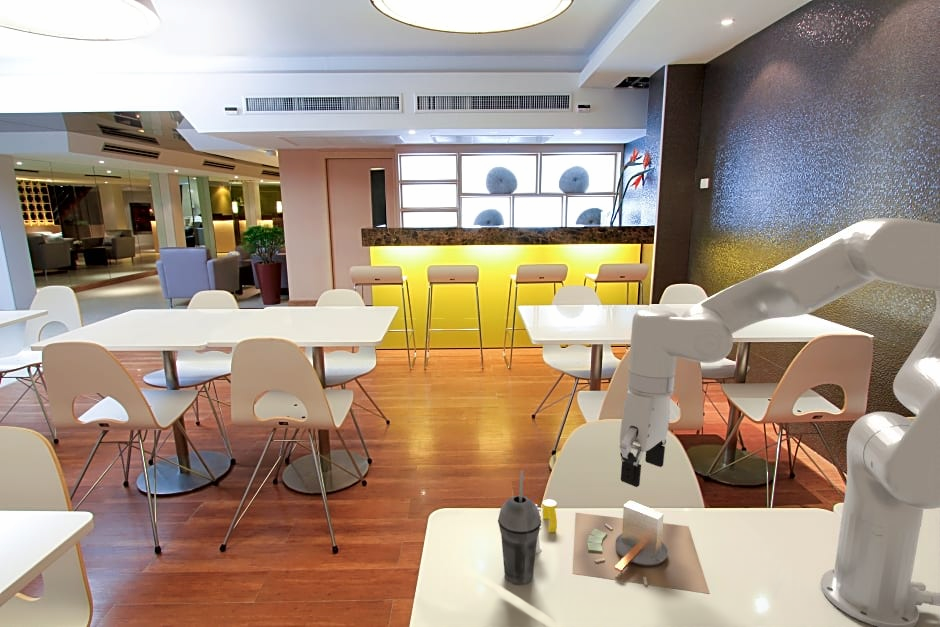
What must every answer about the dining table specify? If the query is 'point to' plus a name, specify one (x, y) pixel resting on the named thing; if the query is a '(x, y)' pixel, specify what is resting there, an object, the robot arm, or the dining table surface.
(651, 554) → the dial
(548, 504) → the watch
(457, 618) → the dining table surface
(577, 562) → the board
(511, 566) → the beverage cup
